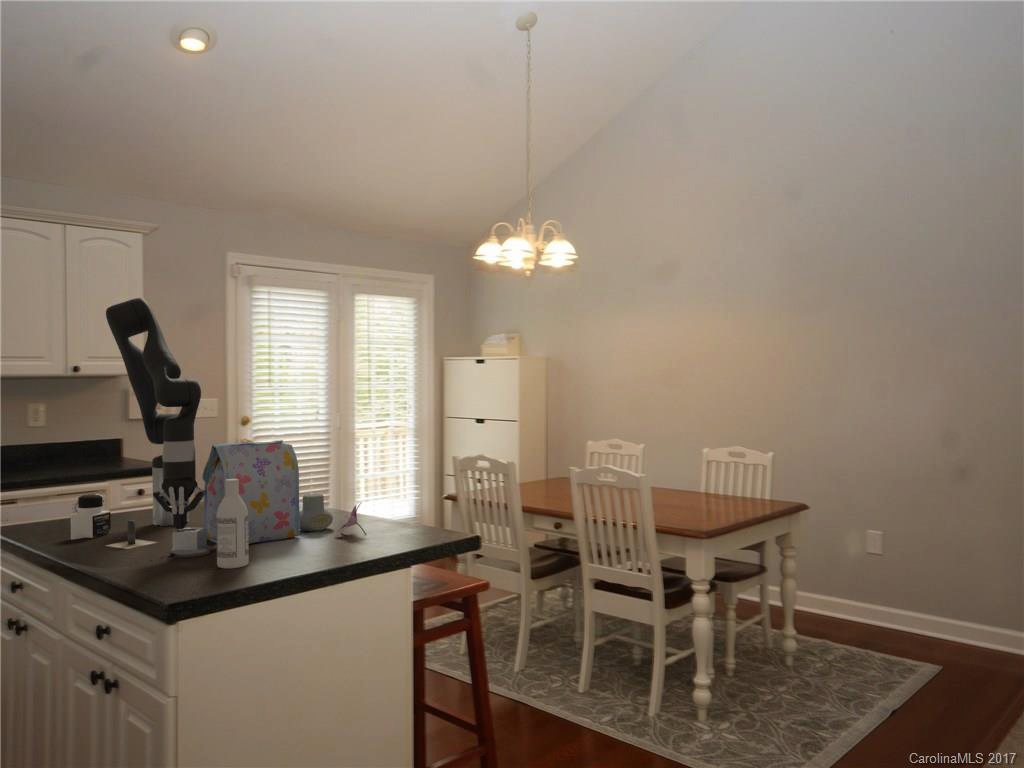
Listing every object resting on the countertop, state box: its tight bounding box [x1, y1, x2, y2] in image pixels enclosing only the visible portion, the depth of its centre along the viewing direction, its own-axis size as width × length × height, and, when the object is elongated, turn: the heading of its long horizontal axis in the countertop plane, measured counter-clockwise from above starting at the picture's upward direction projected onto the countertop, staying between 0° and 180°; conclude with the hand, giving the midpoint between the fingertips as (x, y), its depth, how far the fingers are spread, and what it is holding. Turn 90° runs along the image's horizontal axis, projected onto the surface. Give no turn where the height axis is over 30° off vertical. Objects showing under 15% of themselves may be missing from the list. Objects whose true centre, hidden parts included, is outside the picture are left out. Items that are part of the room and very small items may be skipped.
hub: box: [169, 544, 210, 559], centre depth 200 cm, size 9×9×5 cm
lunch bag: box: [201, 439, 301, 544], centre depth 217 cm, size 22×17×26 cm
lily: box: [335, 500, 367, 536], centre depth 221 cm, size 12×12×10 cm
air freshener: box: [300, 493, 334, 533], centre depth 230 cm, size 11×8×10 cm
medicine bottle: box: [70, 493, 112, 541], centre depth 221 cm, size 7×7×12 cm
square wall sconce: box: [171, 526, 207, 551], centre depth 199 cm, size 6×6×4 cm
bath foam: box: [216, 479, 250, 570], centre depth 186 cm, size 7×7×20 cm
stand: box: [104, 519, 159, 550], centre depth 208 cm, size 9×9×7 cm
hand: (180, 528), depth 199 cm, fingers closed
